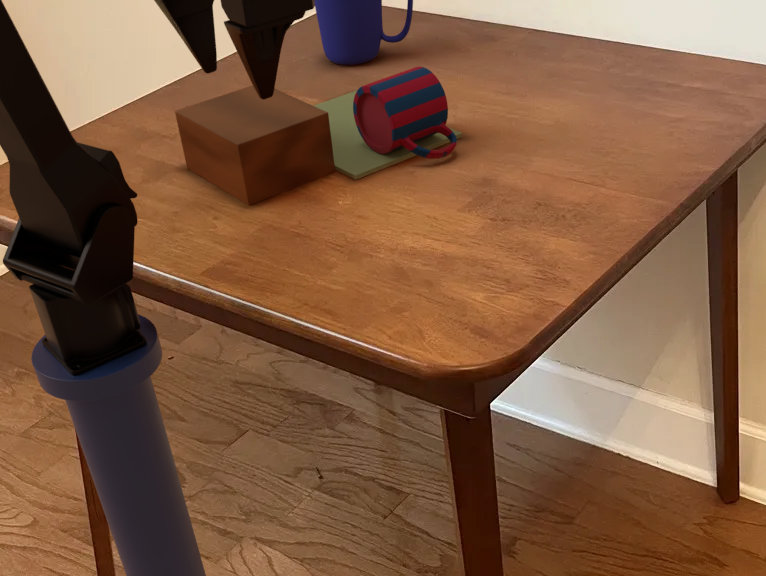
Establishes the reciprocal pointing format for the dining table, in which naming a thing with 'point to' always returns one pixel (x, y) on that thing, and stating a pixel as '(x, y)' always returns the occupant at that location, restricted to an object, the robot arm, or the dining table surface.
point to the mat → (352, 149)
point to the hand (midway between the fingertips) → (237, 84)
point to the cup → (403, 113)
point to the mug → (354, 29)
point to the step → (256, 143)
